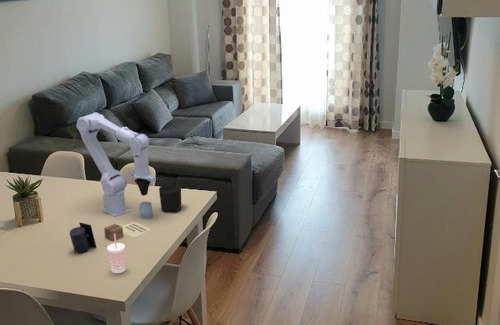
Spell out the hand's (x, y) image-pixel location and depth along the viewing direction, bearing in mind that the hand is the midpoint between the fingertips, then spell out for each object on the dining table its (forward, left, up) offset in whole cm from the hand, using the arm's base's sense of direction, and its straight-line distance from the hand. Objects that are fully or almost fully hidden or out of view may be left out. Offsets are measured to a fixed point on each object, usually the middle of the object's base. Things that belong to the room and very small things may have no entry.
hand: (144, 194), depth 230 cm
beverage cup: (+28, -33, -11) cm, 45 cm away
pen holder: (+2, +12, -11) cm, 16 cm away
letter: (+6, -11, -10) cm, 16 cm away
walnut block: (+6, -20, -11) cm, 23 cm away
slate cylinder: (0, 0, -10) cm, 10 cm away
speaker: (+6, -34, -11) cm, 36 cm away
